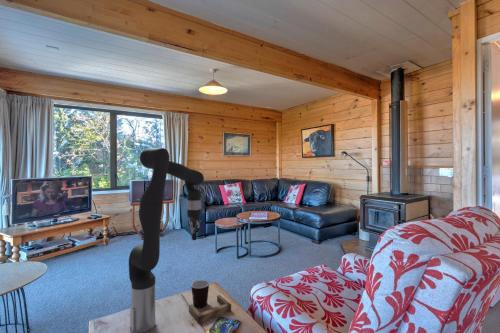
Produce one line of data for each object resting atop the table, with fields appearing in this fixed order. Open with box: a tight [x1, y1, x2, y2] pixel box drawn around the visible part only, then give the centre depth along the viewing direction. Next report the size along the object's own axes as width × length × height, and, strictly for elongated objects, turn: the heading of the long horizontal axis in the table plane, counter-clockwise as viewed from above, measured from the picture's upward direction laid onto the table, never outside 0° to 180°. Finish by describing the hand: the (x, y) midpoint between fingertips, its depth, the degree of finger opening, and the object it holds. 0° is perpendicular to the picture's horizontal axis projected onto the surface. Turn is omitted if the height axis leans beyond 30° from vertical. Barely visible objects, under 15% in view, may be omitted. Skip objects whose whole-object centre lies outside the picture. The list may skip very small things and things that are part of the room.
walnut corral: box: [188, 294, 232, 324], centre depth 114 cm, size 16×11×3 cm
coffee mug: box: [190, 279, 210, 310], centre depth 121 cm, size 12×9×10 cm
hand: (194, 239), depth 136 cm, fingers closed
